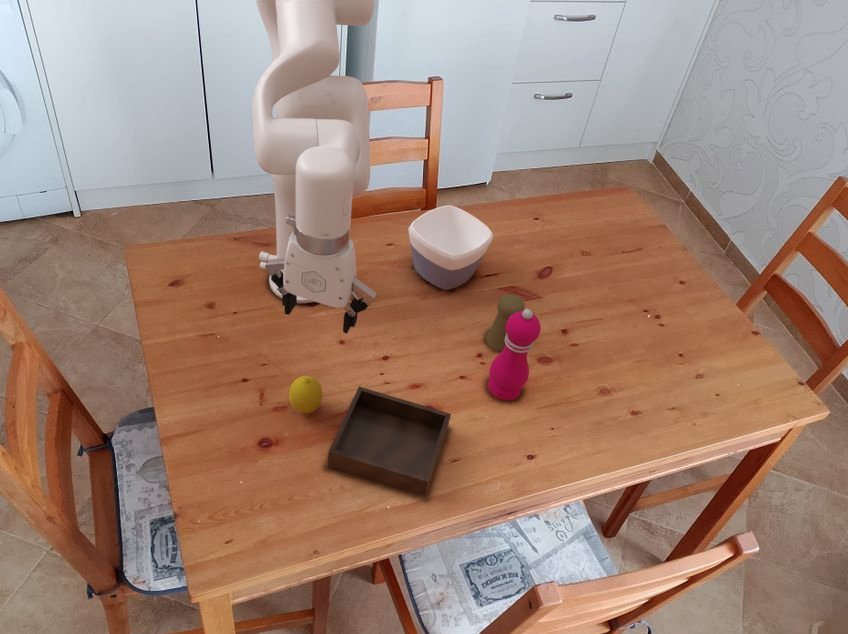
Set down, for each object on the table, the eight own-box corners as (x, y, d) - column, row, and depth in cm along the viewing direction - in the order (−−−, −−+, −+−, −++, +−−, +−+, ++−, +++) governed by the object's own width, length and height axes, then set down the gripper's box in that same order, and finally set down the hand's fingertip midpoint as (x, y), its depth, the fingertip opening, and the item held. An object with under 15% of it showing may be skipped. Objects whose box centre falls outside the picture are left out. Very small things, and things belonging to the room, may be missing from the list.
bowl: (493, 274, 159) (503, 234, 151) (446, 305, 150) (454, 263, 142) (441, 239, 165) (449, 198, 157) (393, 266, 156) (398, 224, 148)
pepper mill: (497, 407, 133) (521, 329, 118) (478, 378, 137) (499, 300, 123) (530, 396, 136) (557, 320, 121) (510, 369, 140) (535, 292, 126)
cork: (513, 355, 143) (526, 314, 135) (483, 347, 143) (494, 306, 135) (518, 334, 147) (530, 294, 139) (489, 326, 147) (499, 286, 139)
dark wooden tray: (327, 467, 118) (328, 451, 115) (357, 402, 129) (358, 386, 126) (425, 496, 117) (428, 482, 114) (447, 429, 128) (451, 413, 124)
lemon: (327, 404, 127) (328, 374, 122) (312, 427, 123) (313, 396, 118) (298, 393, 128) (298, 362, 122) (283, 415, 124) (282, 384, 119)
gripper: (253, 230, 100) (257, 317, 113) (372, 267, 99) (363, 350, 112) (276, 200, 105) (278, 287, 118) (389, 235, 104) (379, 318, 117)
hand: (319, 317), depth 115 cm, fingers open, 9 cm apart
